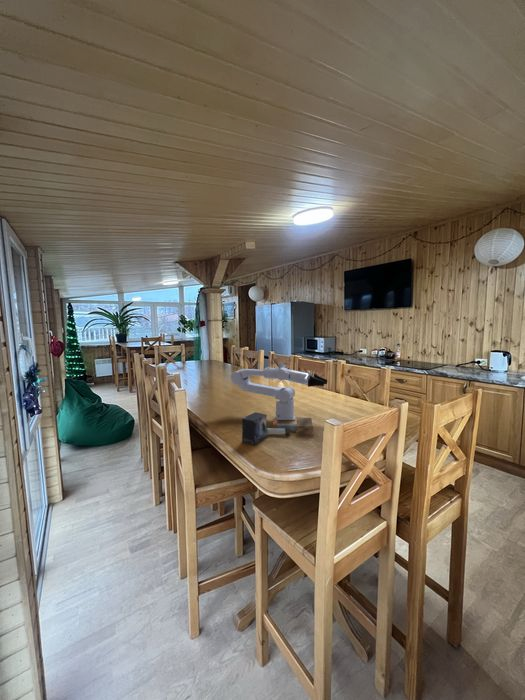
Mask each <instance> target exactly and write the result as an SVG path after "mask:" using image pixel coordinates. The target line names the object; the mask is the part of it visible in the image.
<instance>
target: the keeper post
mask: <svg viewBox="0 0 525 700" xmlns="http://www.w3.org/2000/svg"><path fill="white" fill-rule="evenodd" d="M285 436H286V437H290V436H291V431H290V427H289V426H286V431H285Z"/></svg>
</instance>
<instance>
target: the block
mask: <svg viewBox="0 0 525 700" xmlns="http://www.w3.org/2000/svg"><path fill="white" fill-rule="evenodd" d="M296 424H297V432H296V436H314V433H313V432H314V428H313V427H314V425H313V420H312V417H296Z"/></svg>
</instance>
